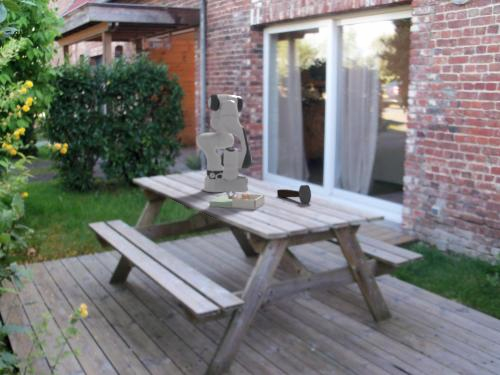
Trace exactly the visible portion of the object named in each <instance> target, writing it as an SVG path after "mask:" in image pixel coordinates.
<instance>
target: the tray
mask: <svg viewBox="0 0 500 375" xmlns="http://www.w3.org/2000/svg"><path fill="white" fill-rule="evenodd" d="M244 194H245V193H244V192H241V196H242V195H244ZM248 194H249V200H248V199H234V198H233V199H232V208H231V209H243V210H257V209H259V208H260V207H262V206H263V205H264V204H265V194H258V193H257V194H256V193H248Z"/></svg>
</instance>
